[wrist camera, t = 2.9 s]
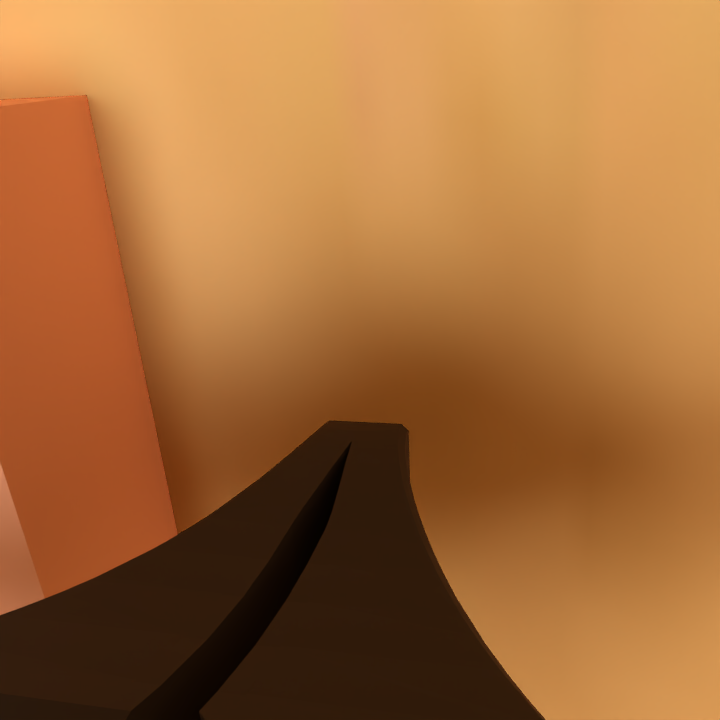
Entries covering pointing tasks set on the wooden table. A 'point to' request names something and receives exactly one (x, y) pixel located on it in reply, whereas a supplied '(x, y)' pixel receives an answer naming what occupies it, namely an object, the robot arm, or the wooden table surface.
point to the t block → (67, 367)
